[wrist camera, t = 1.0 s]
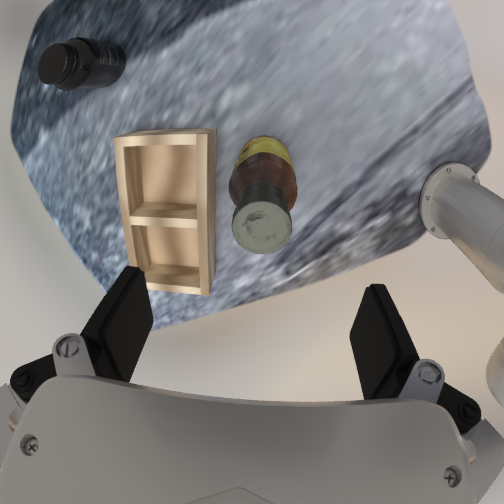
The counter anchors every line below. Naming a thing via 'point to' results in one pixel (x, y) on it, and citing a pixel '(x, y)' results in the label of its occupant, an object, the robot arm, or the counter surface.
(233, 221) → the sauce bottle
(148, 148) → the rail
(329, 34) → the counter surface
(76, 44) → the supplement bottle
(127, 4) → the counter surface
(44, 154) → the counter surface
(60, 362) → the robot arm
